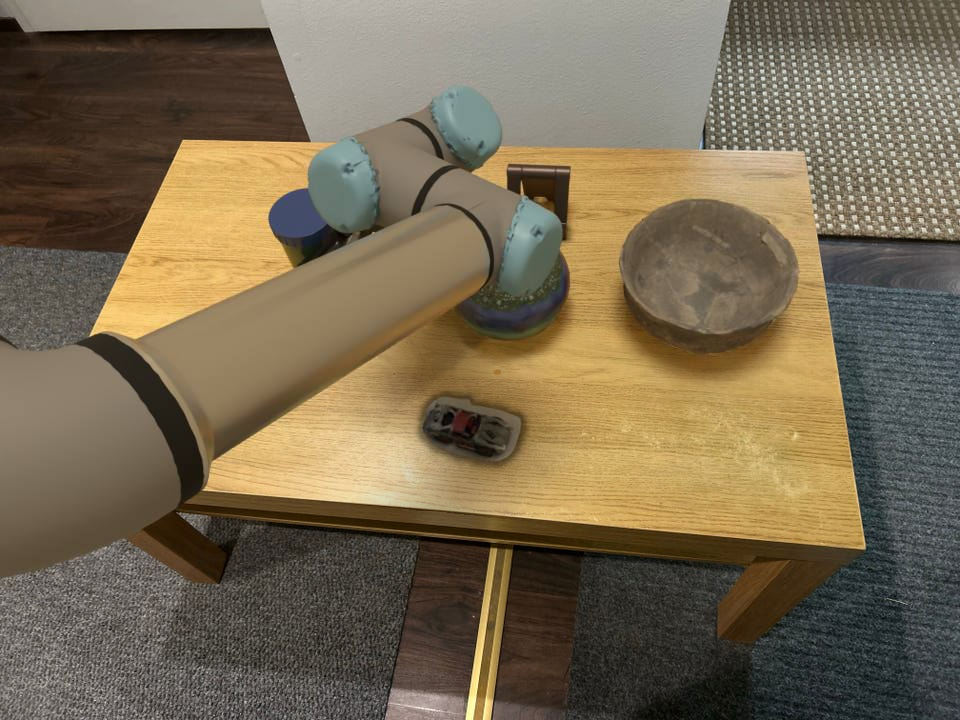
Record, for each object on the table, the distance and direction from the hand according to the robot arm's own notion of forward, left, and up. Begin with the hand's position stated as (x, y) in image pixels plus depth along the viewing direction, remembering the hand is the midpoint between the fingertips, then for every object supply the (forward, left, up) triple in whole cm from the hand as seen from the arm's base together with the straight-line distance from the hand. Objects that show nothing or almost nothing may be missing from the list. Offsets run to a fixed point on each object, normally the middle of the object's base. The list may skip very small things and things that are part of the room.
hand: (301, 263), depth 92 cm
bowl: (+34, -40, -6) cm, 52 cm away
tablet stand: (+31, -14, -6) cm, 34 cm away
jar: (+2, -3, -5) cm, 6 cm away
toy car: (+1, -32, -6) cm, 33 cm away
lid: (+2, -3, +10) cm, 11 cm away
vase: (+17, -23, -6) cm, 29 cm away
